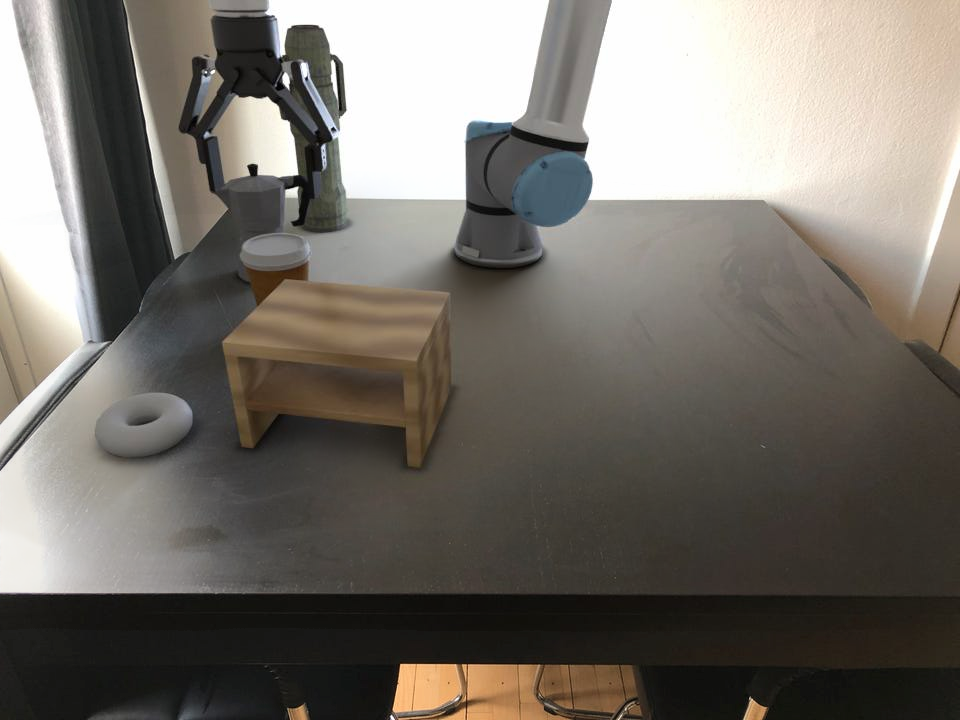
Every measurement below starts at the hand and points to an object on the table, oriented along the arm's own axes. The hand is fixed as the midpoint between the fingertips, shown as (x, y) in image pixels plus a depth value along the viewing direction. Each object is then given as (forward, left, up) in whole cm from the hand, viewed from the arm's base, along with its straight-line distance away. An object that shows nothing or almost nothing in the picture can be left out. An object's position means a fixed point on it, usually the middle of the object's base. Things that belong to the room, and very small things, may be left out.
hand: (266, 192), depth 97 cm
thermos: (-41, -9, -19) cm, 46 cm away
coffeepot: (-17, -9, -19) cm, 27 cm away
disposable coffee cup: (0, 0, -19) cm, 19 cm away
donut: (+29, -4, -19) cm, 35 cm away
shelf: (+21, +17, -19) cm, 33 cm away
